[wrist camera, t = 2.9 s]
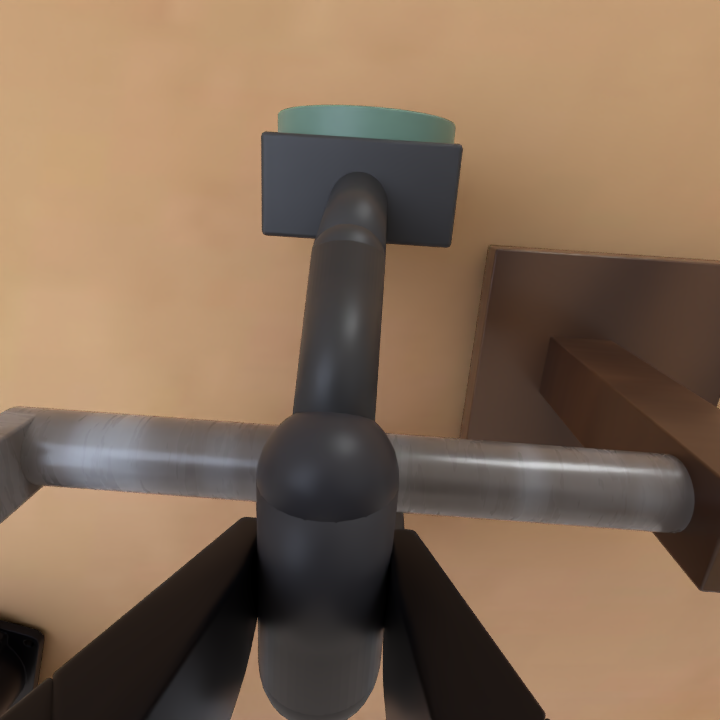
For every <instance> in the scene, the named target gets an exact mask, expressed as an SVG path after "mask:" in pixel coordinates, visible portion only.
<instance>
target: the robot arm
mask: <svg viewBox="0 0 720 720" xmlns="http://www.w3.org/2000/svg"><path fill="white" fill-rule="evenodd" d="M257 618H258V592H257V518H251V517H243V518H241V519H240V520H238V521H237V522H236V523H235V524H234V525H232V526H231V527H230V528H229V529H227V530H226V531H225V532H224V533H223V534H221V535H220V536H219V537H218V538H217V539H215V540H214V541H213V542H212V543H211V544H209V545H208V546H207V547H206V548H205V549H203V550H202V551H201V552H200V553H198V554H197V555H196V556H195V557H194V558H192V559H191V560H190V561H189V562H188V563H186V564H185V565H184V566H183V567H182V568H180V569H179V570H178V571H177V572H175V573H174V574H173V575H172V576H171V577H169V578H168V579H167V580H166V581H165V582H163V583H162V584H161V585H160V586H159V587H157V588H156V589H155V590H154V591H152V592H151V593H150V594H149V595H148V596H146V597H145V598H144V599H143V600H142V601H140V602H139V603H138V604H137V605H136V606H134V607H133V608H132V609H131V610H129V611H128V612H127V613H126V614H125V615H123V616H122V617H121V618H120V619H119V620H117V621H116V622H115V623H114V624H113V625H111V626H110V627H109V628H108V629H107V630H105V631H104V632H103V633H102V634H100V635H99V636H98V637H97V638H96V639H94V640H93V641H92V642H91V643H90V644H88V645H87V646H86V647H85V648H84V649H82V650H81V651H80V652H79V653H77V654H76V655H75V656H74V657H73V658H71V659H70V660H69V661H68V662H67V663H65V664H64V665H63V666H62V667H61V668H59V669H58V670H57V671H56V672H55V673H54V674H53V680H52V679H51V678H47V679H46V680H44V681H43V682H42V683H41V684H40V685H38V678H39V671H40V665H41V658H42V651H43V644H44V636H43V634H42V633H41V632H40V631H38V630H36V629H32V628H28V627H25V626H21V625H17V624H14V623H10V622H6V621H3V620H0V720H230V719H231V716H232V713H233V710H234V707H235V704H236V701H237V698H238V694H239V691H240V688H241V685H242V682H243V678H244V675H245V672H246V668H247V664H248V659H249V655H250V651H251V646H252V641H253V637H254V632H255V627H256V622H257ZM37 685H38V686H37ZM383 687H384V700H385V711H386V720H550V719H545V712H544V710H543V709H542V708H541V706H540V705H539V703H538V702H537V701H536V699H535V698H534V696H533V695H532V694H531V692H530V691H529V690H528V688H527V687H526V685H525V684H524V683H523V681H522V680H521V678H520V677H519V676H518V674H517V673H516V671H515V670H514V669H513V667H512V666H511V664H510V663H509V662H508V660H507V659H506V657H505V656H504V655H503V653H502V652H501V650H500V649H499V648H498V646H497V645H496V643H495V642H494V641H493V639H492V638H491V636H490V635H489V634H488V632H487V631H486V629H485V628H484V627H483V625H482V624H481V622H480V621H479V620H478V618H477V617H476V615H475V614H474V613H473V611H472V610H471V608H470V607H469V606H468V604H467V603H466V601H465V600H464V599H463V597H462V596H461V595H460V593H459V592H458V590H457V589H456V588H455V586H454V585H453V583H452V582H451V581H450V579H449V578H448V576H447V575H446V574H445V572H444V571H443V569H442V568H441V567H440V565H439V564H438V562H437V561H436V560H435V558H434V557H433V555H432V554H431V553H430V551H429V550H428V548H427V547H426V546H425V544H424V543H423V541H422V540H421V539H420V537H419V536H418V534H417V533H416V532H415V531H413V530H408V529H395V530H394V539H393V549H392V553H391V560H390V570H389V579H388V588H387V598H386V607H385V617H384V626H383Z"/></svg>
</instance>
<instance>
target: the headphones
mask: <svg viewBox="0 0 720 720" xmlns="http://www.w3.org/2000/svg"><path fill="white" fill-rule="evenodd" d="M455 129H456V127H455V124H454V123H453V122H451V121H449V120H447V119H444V118H442V117H438V116H434V115H430V114H426V113H420V112H414V111H408V110H401V109H392V108H383V107H371V106H354V105H309V106H298V107H292V108H287V109H284V110H282V111H280V112H279V114H278V132H267V131H266V132H263V133H262V136H261V170H262V232H263V234H264V235H268V236H283V237H297V238H312V239H315V242H314V245H313V248H312V253H311V260H310V269H309V277H308V286H307V295H306V303H305V312H304V320H303V329H302V338H301V346H300V355H299V364H298V372H297V381H296V389H295V398H294V407H293V415H292V416H290V417H288V418H287V419H285V420H284V421H283V422H282V423H281V424H280V425H279V426H278V427H277V428H276V429H275V430H274V431H273V432H272V434H271V435H270V437H269V439H268V440H267V442H266V443H265V445H264V447H263V449H262V452H261V455H260V458H259V462H258V466H257V475H256V511H257V592H258V663H259V672H260V678H261V682H262V685H263V689H264V691H265V693H266V695H267V696H268V698H269V700H270V702H271V704H272V705H273V707H274V708H275V709H276V710H277V711H278V712H279V713H280V714H281V715H282V716H284V717H285V718H286V719H288V720H347V719H348V718H350V717H351V716H352V715H354V714H355V713H356V712H357V711H358V710H359V709H360V708H361V707H362V706H363V705H364V703H365V702H366V700H367V698H368V697H369V695H370V693H371V692H372V690H373V688H374V686H375V683H376V680H377V676H378V672H379V668H380V661H381V652H382V643H383V626H384V617H385V607H386V598H387V588H388V579H389V570H390V560H391V553H392V549H393V539H394V530H395V529H404V515H403V513H398V512H396V511H397V502H398V492H399V466H398V461H397V457H396V453H395V450H394V448H393V446H392V444H391V442H390V440H389V438H388V436H387V435H386V433H385V432H384V431H383V430H382V429H381V427H380V426H379V425H378V424H377V423H376V422H375V411H376V396H377V381H378V366H379V350H380V335H381V320H382V305H383V290H384V275H385V257H386V244H399V245H414V246H429V247H443V248H447V247H450V245H451V240H452V232H453V224H454V216H455V208H456V200H457V192H458V184H459V176H460V168H461V160H462V152H463V148H462V145H460V144H454V137H455Z"/></svg>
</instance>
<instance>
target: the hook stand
mask: <svg viewBox="0 0 720 720" xmlns="http://www.w3.org/2000/svg"><path fill="white" fill-rule="evenodd" d="M719 399H720V261H715V260H700V259H685V258H671V257H656V256H641V255H627V254H612V253H597V252H583V251H568V250H553V249H539V248H524V247H509V246H495V245H490V246H489V247H488V253H487V259H486V266H485V273H484V279H483V286H482V293H481V299H480V306H479V312H478V319H477V326H476V332H475V339H474V346H473V352H472V359H471V365H470V372H469V379H468V385H467V392H466V399H465V405H464V412H463V418H462V425H461V432H460V438H445V437H431V436H418V435H404V434H391V433H386V435H387V436H388V438H389V440H390V442H391V444H392V446H393V448H394V450H395V453H396V457H397V461H398V466H399V492H398V502H397V511H396V512H398V513H411V514H424V515H438V516H451V517H464V518H477V519H491V520H504V521H517V522H530V523H544V524H557V525H570V526H583V527H597V528H610V529H623V530H636V531H650V532H653V534H654V535H655V536H656V537H657V539H658V540H659V541H660V542H661V544H662V545H663V546H664V547H665V548H666V550H667V551H668V552H669V553H670V555H671V556H672V557H673V558H674V560H675V561H676V562H677V563H678V565H679V566H680V567H681V568H682V569H683V571H684V572H685V573H686V574H687V576H688V577H689V578H690V579H691V581H692V582H693V583H694V584H695V586H696V587H697V588H698V589H699V590H700V591H705V592H718V593H720V409H719V408H717V404H718V401H719ZM278 426H279V425H268V424H254V423H241V422H227V421H213V420H200V419H186V418H173V417H159V416H145V415H132V414H118V413H104V412H91V411H77V410H64V409H50V408H36V407H23V406H18V407H13V408H10V409H8V410H6V411H4V412H2V413H0V524H1V523H2V522H3V521H4V520H5V519H6V518H8V517H9V516H10V515H11V514H12V513H13V512H14V511H16V510H17V509H18V508H19V507H20V506H21V505H22V504H23V503H25V502H26V501H27V500H28V499H29V498H30V497H31V496H33V495H34V494H35V493H36V492H37V491H38V490H39V489H41V488H42V487H43V486H54V487H67V488H80V489H93V490H107V491H120V492H133V493H146V494H160V495H173V496H186V497H199V498H213V499H226V500H239V501H252V502H256V475H257V466H258V462H259V458H260V455H261V452H262V449H263V447H264V445H265V443H266V442H267V440H268V439H269V437H270V435H271V434H272V432H273V431H274V430H275V429H276V428H277V427H278Z"/></svg>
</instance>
